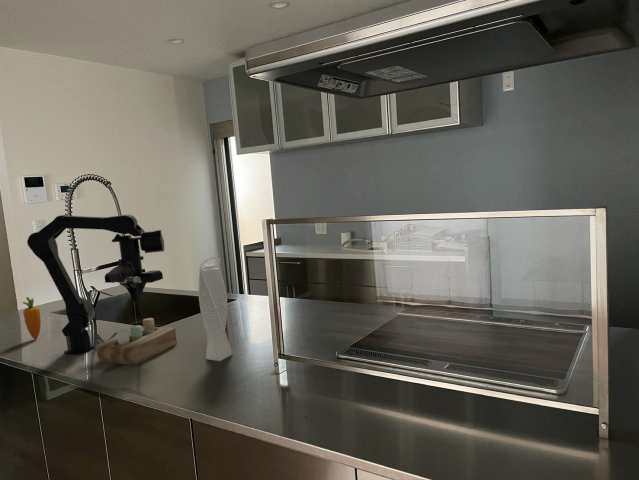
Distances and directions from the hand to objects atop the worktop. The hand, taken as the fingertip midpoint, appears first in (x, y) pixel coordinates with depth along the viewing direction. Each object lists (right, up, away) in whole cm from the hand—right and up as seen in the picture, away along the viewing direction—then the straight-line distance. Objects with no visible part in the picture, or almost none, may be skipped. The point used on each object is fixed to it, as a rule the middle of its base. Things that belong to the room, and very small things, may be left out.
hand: (136, 303), depth 160 cm
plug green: (+3, -12, -8) cm, 15 cm away
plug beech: (+5, -10, -3) cm, 12 cm away
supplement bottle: (+28, -12, -7) cm, 31 cm away
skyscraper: (+30, -13, -18) cm, 37 cm away
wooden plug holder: (+4, -14, -8) cm, 16 cm away
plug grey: (+1, -12, -13) cm, 18 cm away
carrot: (-41, -15, +15) cm, 46 cm away
